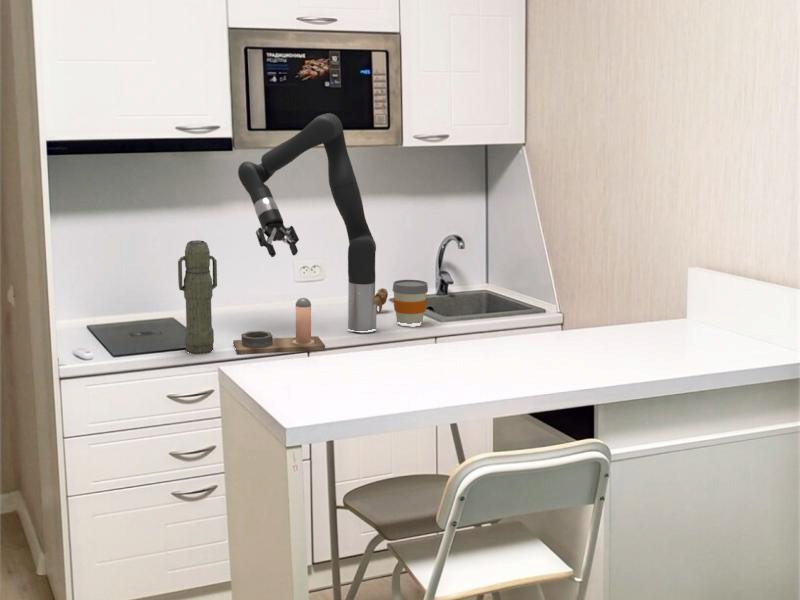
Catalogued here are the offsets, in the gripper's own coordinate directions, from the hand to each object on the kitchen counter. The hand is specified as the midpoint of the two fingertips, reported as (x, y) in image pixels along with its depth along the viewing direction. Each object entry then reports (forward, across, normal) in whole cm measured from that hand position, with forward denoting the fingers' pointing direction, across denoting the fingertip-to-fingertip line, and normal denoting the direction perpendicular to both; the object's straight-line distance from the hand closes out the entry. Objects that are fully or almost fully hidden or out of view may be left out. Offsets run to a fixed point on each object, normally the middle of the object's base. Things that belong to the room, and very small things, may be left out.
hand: (284, 255), depth 333 cm
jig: (+29, -10, +9) cm, 32 cm away
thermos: (+22, -32, +18) cm, 43 cm away
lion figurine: (+15, +45, +23) cm, 53 cm away
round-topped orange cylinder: (+30, -2, +5) cm, 30 cm away
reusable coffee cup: (+29, +45, +6) cm, 54 cm away
